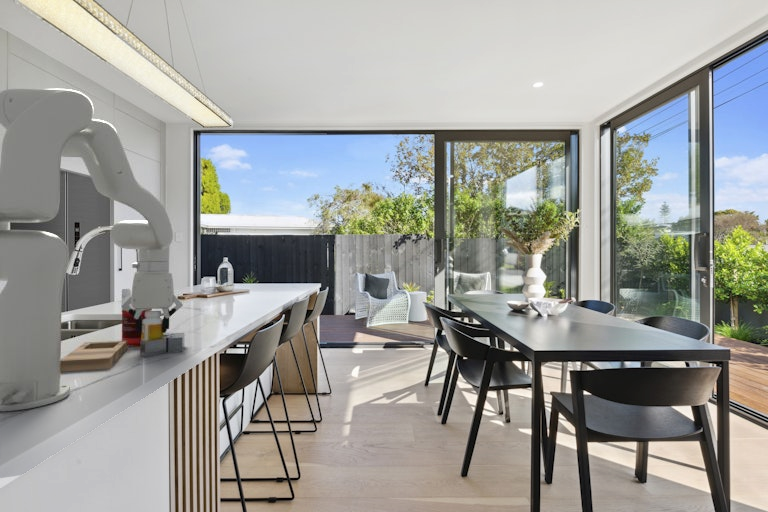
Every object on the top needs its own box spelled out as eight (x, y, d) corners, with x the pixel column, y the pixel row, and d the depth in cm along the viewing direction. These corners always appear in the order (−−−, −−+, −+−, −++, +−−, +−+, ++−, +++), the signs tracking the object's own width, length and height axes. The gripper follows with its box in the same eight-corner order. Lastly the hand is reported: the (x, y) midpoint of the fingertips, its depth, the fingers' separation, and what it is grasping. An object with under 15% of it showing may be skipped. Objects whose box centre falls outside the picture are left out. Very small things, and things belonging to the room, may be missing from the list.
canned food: (148, 339, 131) (149, 304, 131) (153, 344, 125) (154, 307, 125) (119, 342, 126) (120, 306, 126) (123, 347, 120) (124, 309, 120)
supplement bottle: (167, 344, 120) (168, 310, 120) (155, 348, 115) (156, 312, 115) (149, 343, 121) (150, 309, 121) (136, 347, 115) (137, 312, 115)
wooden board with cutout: (109, 368, 100) (109, 358, 100) (58, 372, 96) (58, 361, 96) (127, 349, 118) (127, 340, 118) (85, 351, 115) (85, 342, 115)
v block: (139, 357, 110) (139, 342, 110) (148, 344, 124) (149, 331, 124) (180, 355, 113) (181, 340, 113) (185, 343, 128) (185, 329, 128)
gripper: (115, 267, 111) (113, 336, 111) (186, 268, 117) (185, 333, 117) (121, 266, 118) (120, 331, 118) (188, 267, 124) (187, 328, 124)
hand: (152, 331), depth 118 cm, fingers closed on supplement bottle, 5 cm apart
